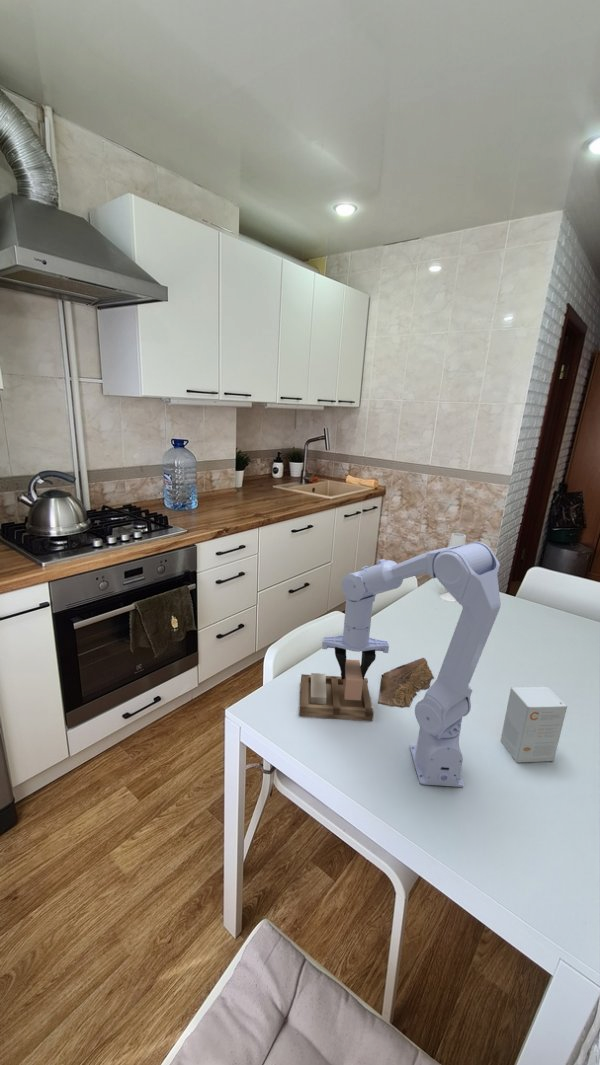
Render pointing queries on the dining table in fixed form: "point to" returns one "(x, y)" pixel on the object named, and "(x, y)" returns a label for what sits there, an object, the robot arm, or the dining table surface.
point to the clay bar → (352, 680)
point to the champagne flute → (455, 540)
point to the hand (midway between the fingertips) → (352, 677)
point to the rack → (332, 699)
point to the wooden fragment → (404, 683)
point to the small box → (533, 724)
